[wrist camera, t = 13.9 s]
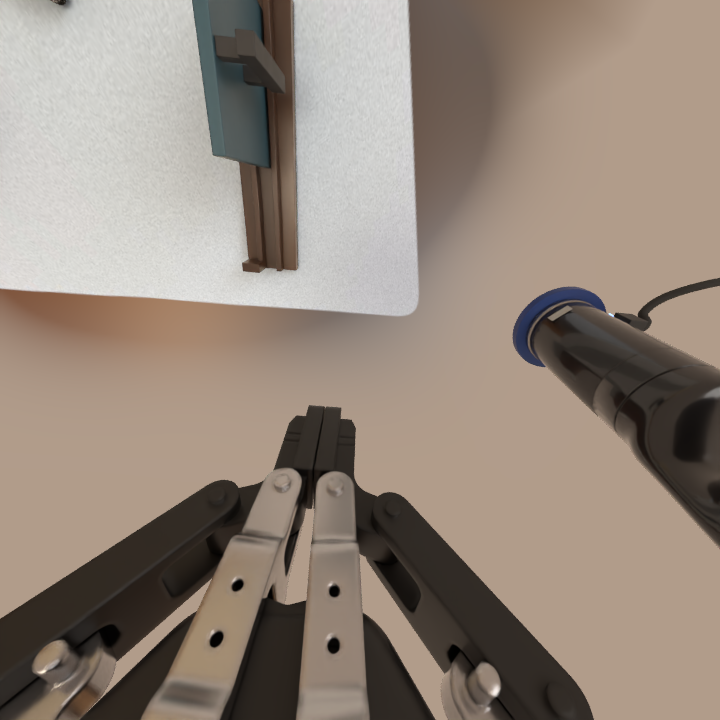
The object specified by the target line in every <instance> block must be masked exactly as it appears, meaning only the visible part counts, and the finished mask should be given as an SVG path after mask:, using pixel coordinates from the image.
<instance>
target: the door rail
mask: <svg viewBox="0 0 720 720" xmlns="http://www.w3.org/2000/svg"><path fill="white" fill-rule="evenodd" d="M257 1H258V3H259V4H260V6H261V8H262V12H263V31H264V46H265V48H266V49H267V51H268V52H269V54H270V55H271V57H272V58H273V60H274V61H275V62H276V64H277V65H278V67H279V68H280V70H281V71H282V73H283V74H284V76H285V94H281V93H272V92H271V91H270V90H269V89H268V88H267V105H268V124H269V142H270V161H271V168H262V167H258V166H254V165H250V164H246V163H242V162H239V165H240V175H241V185H242V195H243V205H244V216H245V226H246V236H247V246H248V256H249V259H248V260H247V261H245V262H243V263H242V265H243V271H246V272H257V273H260V272H261V271H262V270H264V269H265V268H276V269H277V271H282V270H283V269H287V270H297V269H298V241H297V184H296V128H295V71H294V15H293V0H257Z"/></svg>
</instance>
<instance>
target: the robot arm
mask: <svg viewBox="0 0 720 720" xmlns="http://www.w3.org/2000/svg"><path fill="white" fill-rule="evenodd" d="M715 286H720V278H718V279H712V280H707V281H703V282H699V283H695V284H691V285H687V286H684V287H681V288H678V289H675V290H672V291H669V292H667V293H664V294H662V295H660V296H658V297H656V298H655V299H653V300H651V301H650V302H648V303H647V304H646V305H645V306H643V308H642V309H641V310H640V311H639V313H638V317H637V316H635V315H633V314H624V313H615V315H614V316H612V315H611V314H607V313H606V312H604V311H602V310H600V309H598V308H596V307H594V306H593V305H591V304H590V303H588V302H586V301H583V300H580V299H564V300H560V301H557V302H554V303H552V304H550V305H549V306H547V307H545V308H544V309H543V310H541V311H540V312H539V313H538V314H537V315H536V316H535V317H534V318H533V320H532V321H531V323H530V324H529V327H528V329H527V332H526V346H527V348H528V350H529V351H530V353H531V354H532V355H533V356H534V357H536V358H537V359H538V360H540V361H541V362H542V363H543V364H544V365H545V366H546V367H547V368H548V369H549V370H550V371H551V372H552V373H553V374H554V375H555V376H556V377H557V378H558V379H559V380H560V381H561V382H563V383H564V384H565V385H566V386H567V387H568V388H569V389H570V390H571V391H572V392H573V393H574V394H575V395H576V396H577V397H578V398H579V399H580V400H581V401H582V402H584V404H586V406H588V407H589V408H590V409H591V410H592V411H593V412H594V413H595V414H596V415H597V416H598V417H599V418H600V419H601V420H602V421H604V423H606V425H608V426H609V427H610V428H611V429H612V430H613V431H614V432H615V433H616V434H617V435H618V436H619V437H620V438H621V439H622V440H623V441H624V442H625V443H626V444H627V445H628V446H629V447H630V449H631V451H632V453H633V455H634V456H635V458H636V459H637V460H638V461H639V463H641V465H642V466H643V467H644V468H645V469H646V470H647V471H648V472H649V473H650V474H651V475H652V476H653V477H654V478H655V479H656V480H657V481H658V482H659V484H660V485H661V486H662V487H663V488H664V489H665V490H666V491H667V492H668V493H669V494H670V495H671V497H672V498H673V499H674V500H675V501H676V502H677V503H678V504H679V505H680V506H681V507H682V509H683V510H684V511H685V512H686V513H687V514H688V515H689V516H690V517H691V518H692V520H693V521H694V522H695V523H696V524H697V525H698V526H699V527H700V528H701V529H702V531H703V532H704V533H705V534H706V535H707V536H708V537H709V538H710V539H711V540H712V541H713V542H714V543H715V544H716V546H718V548H719V549H720V369H718V368H716V367H714V366H712V365H710V364H708V363H706V362H704V361H702V360H700V359H698V358H696V357H694V356H692V355H689V354H688V353H686V352H684V351H682V350H679V349H677V348H675V347H673V346H671V345H669V344H667V343H665V342H663V341H661V340H659V339H657V338H655V337H653V336H651V335H649V334H647V333H645V332H644V331H645V330H647V329H648V328H649V326H650V325H651V322H652V321H651V319H650V317H649V316H648V313H649V312H650V311H651V310H652V309H653V308H654V307H656V306H658V305H659V304H661V303H663V302H665V301H667V300H669V299H672V298H675V297H677V296H680V295H684V294H687V293H690V292H694V291H698V290H702V289H706V288H710V287H715ZM355 432H356V428H355V426H354V424H353V422H352V420H348V419H341V408H338V407H326V408H325V407H324V406H311V405H309V407H308V410H307V414H306V416H296V417H295V418H294V419H293V420H292V421H291V422H290V423H289V426H288V429H287V431H286V434H285V437H284V441H283V444H282V447H281V450H280V453H279V456H278V459H277V462H276V465H275V468H274V470H273V471H272V472H271V473H270V474H268V475H267V477H266V478H265V480H264V481H262V482H260V483H258V484H255V485H251V486H246V487H242V488H238V486H237V485H236V484H235V483H234V482H232V481H228V480H220V481H215V482H213V483H211V484H209V485H207V486H205V487H204V488H202V489H201V490H199V491H198V492H196V493H195V494H193V495H191V496H190V497H189V498H187V499H185V500H184V501H182V502H181V503H179V504H178V505H176V506H174V507H173V508H171V509H170V510H168V511H167V512H165V513H164V514H162V515H161V516H159V517H157V518H156V519H154V520H153V521H151V522H150V523H148V524H147V525H145V526H143V527H142V528H141V529H139V530H137V531H136V532H134V533H133V534H131V535H130V536H128V537H126V538H125V539H123V540H122V541H121V542H119V543H117V544H116V545H115V546H112V547H111V548H109V549H108V550H107V551H105V552H103V553H102V554H100V555H99V556H97V557H95V558H94V559H92V560H91V561H89V562H88V563H86V564H85V565H83V566H81V567H80V568H78V569H77V570H75V571H74V572H72V573H71V574H69V575H68V576H66V577H64V578H63V579H61V580H60V581H58V582H57V583H55V584H54V585H52V586H51V587H49V588H47V589H46V590H44V591H43V592H41V593H40V594H38V595H37V596H35V597H33V598H32V599H30V600H29V601H27V602H26V603H24V604H23V605H21V606H19V607H18V608H16V609H15V610H14V611H12V612H10V613H9V614H7V615H6V616H4V617H2V618H1V619H0V720H435V718H434V716H433V714H432V713H431V711H430V709H429V708H428V706H427V704H426V702H425V701H424V699H423V697H422V695H421V694H420V692H419V690H418V689H417V687H416V685H415V684H414V682H413V680H412V678H411V676H410V675H409V673H408V671H407V670H406V668H405V666H404V665H403V663H402V661H401V659H400V657H399V656H398V654H397V652H396V651H395V649H394V647H393V646H392V644H391V642H390V640H389V639H388V637H387V635H386V634H385V633H384V632H383V630H382V629H381V628H380V627H379V626H378V625H377V624H376V622H375V621H373V620H372V619H371V618H370V617H369V616H367V615H366V614H364V613H362V594H361V576H360V558H359V554H361V555H363V556H366V559H367V561H368V563H369V564H370V566H371V567H372V569H373V570H374V572H375V573H376V575H377V576H378V578H379V579H380V581H381V582H382V583H383V585H384V586H385V588H386V589H387V590H388V592H389V593H390V595H391V597H392V598H393V599H394V601H395V602H396V604H397V605H398V607H399V608H400V610H401V611H402V613H403V614H404V615H405V617H406V618H407V620H408V621H409V623H410V624H411V626H412V627H413V629H414V630H415V631H416V633H417V634H418V636H419V637H420V639H421V640H422V641H423V643H424V644H425V646H426V647H427V649H428V650H429V651H430V653H431V655H432V656H433V658H434V659H435V661H436V662H437V663H438V665H439V666H440V668H441V669H442V671H443V672H444V677H443V679H442V685H441V698H442V704H443V708H444V711H445V713H446V716H447V718H448V720H594V719H593V715H592V712H591V709H590V706H589V704H588V702H587V700H586V698H585V696H584V694H583V692H582V691H581V689H580V688H579V686H578V685H577V684H576V682H575V681H574V680H573V679H572V677H571V676H570V675H569V674H568V673H567V672H566V671H565V670H564V669H563V668H562V667H561V666H560V664H559V663H558V662H557V661H556V660H555V659H554V658H553V657H552V656H551V655H550V654H549V653H548V651H547V650H546V649H545V648H544V647H543V646H542V645H541V644H540V643H539V642H538V641H537V640H536V639H535V637H534V636H533V635H532V634H531V633H530V632H529V631H528V630H527V629H526V628H525V627H524V626H523V625H522V624H521V622H520V621H519V620H518V619H517V618H516V617H515V616H514V615H513V614H512V613H511V612H510V611H509V610H508V608H507V607H506V606H505V605H504V604H503V603H502V602H501V601H500V600H499V599H498V598H497V597H496V596H495V594H493V592H492V591H491V590H490V589H489V588H488V587H487V586H486V585H485V584H484V583H483V582H482V581H481V579H480V578H479V577H478V576H477V575H476V574H475V573H474V572H473V571H472V570H471V569H470V568H469V567H468V566H467V564H466V563H465V562H464V561H463V560H462V559H461V558H460V557H459V556H458V555H457V554H456V553H455V552H454V550H453V549H452V548H451V547H450V546H449V545H448V544H447V543H446V542H445V541H444V540H443V539H442V538H441V537H440V535H438V533H437V532H436V531H435V530H434V529H433V528H432V527H431V526H430V525H429V524H428V523H427V521H426V520H425V519H424V518H423V517H422V516H421V515H420V514H419V513H418V512H417V511H416V510H415V508H414V507H413V506H412V505H411V504H410V503H409V502H408V501H407V500H406V499H405V498H404V497H402V496H401V495H399V494H396V493H392V492H387V493H383V494H381V495H379V496H378V497H377V496H375V495H372V494H370V493H367V492H365V491H364V490H362V489H361V488H360V487H359V486H358V485H357V483H356V481H355V479H354V457H355ZM313 499H314V509H315V510H314V524H313V535H312V542H311V551H310V564H309V575H308V576H309V577H308V588H307V600H306V601H302V602H299V603H295V604H290V605H285V599H286V593H287V585H288V580H289V576H290V572H291V569H292V565H293V561H294V557H295V553H296V550H297V546H298V542H299V538H300V534H301V531H302V524H303V521H304V516H305V511H306V508H308V509H312V505H313ZM211 578H212V580H211V582H210V585H209V587H208V589H207V591H206V593H205V595H204V597H203V600H202V602H201V604H200V606H199V608H198V610H197V611H196V612H195V613H193V614H191V615H190V616H188V617H187V618H186V619H185V620H183V621H182V622H181V623H180V624H179V625H177V626H176V627H175V628H174V629H173V630H172V631H171V632H170V633H169V634H168V635H167V636H166V637H165V638H164V639H163V640H162V641H160V642H159V644H157V645H156V646H155V647H154V648H153V649H152V650H151V651H150V652H149V653H148V654H147V655H146V656H145V657H144V658H143V659H142V660H141V661H140V662H139V663H138V664H137V665H136V666H135V667H134V668H132V669H131V671H129V672H128V673H127V674H126V675H125V676H124V677H123V678H122V679H121V680H120V681H119V682H118V683H117V684H116V685H115V686H114V687H113V688H112V689H111V690H110V691H109V692H108V693H106V695H104V696H103V697H102V698H101V696H102V695H103V693H104V692H105V690H106V688H107V687H108V685H109V683H110V681H111V679H112V677H113V674H114V671H115V666H116V662H117V661H118V660H119V659H120V658H122V656H124V655H125V654H126V653H127V652H128V651H130V650H131V649H132V648H133V647H134V646H135V645H136V644H137V643H139V642H140V641H141V640H142V639H143V638H144V637H145V636H146V635H148V634H149V633H150V632H151V631H152V630H153V629H155V627H157V626H158V625H159V624H160V623H161V622H163V620H165V619H166V618H167V617H168V616H169V615H170V614H172V613H173V612H174V611H175V610H176V609H177V608H178V607H180V606H181V605H182V604H183V603H184V602H185V601H186V600H188V599H189V598H190V597H191V596H192V595H193V594H194V593H195V592H197V591H198V590H199V589H200V588H201V587H202V586H203V585H205V584H206V583H207V582H208V581H209V580H210V579H211ZM100 698H101V699H100ZM99 699H100V700H99ZM98 700H99V701H98ZM97 701H98V702H97ZM96 702H97V703H96ZM95 703H96V704H95ZM94 704H95V705H94ZM93 705H94V706H93ZM92 706H93V707H92ZM91 707H92V708H91ZM90 708H91V709H90ZM89 709H90V710H89ZM88 710H89V711H88ZM87 711H88V712H87Z"/></svg>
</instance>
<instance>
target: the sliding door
mask: <svg viewBox="0 0 720 720" xmlns="http://www.w3.org/2000/svg"><path fill="white" fill-rule="evenodd" d="M192 3H193V11H194V18H195V26H196V33H197V41H198V48H199V55H200V63H201V70H202V78H203V85H204V93H205V100H206V108H207V115H208V123H209V130H210V137H211V145H212V152H213V155H214V156H218V157H222V158H226V159H230V160H234V161H238V162H242V163H246V164H250V165H254V166H258V167H262V168H271V161H270V142H269V124H268V105H267V88H268V89H269V90H270V91H271V92H272V93H281V94H285V76H284V74H283V73H282V71H281V70H280V68H279V67H278V65H277V64H276V62H275V61H274V60H273V58H272V57H271V55H270V54H269V52H268V51H267V49H266V48H265V46H264V31H263V12H262V8H261V6H260V4H259V3H258V1H257V0H192Z"/></svg>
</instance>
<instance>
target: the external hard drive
mask: <svg viewBox="0 0 720 720" xmlns="http://www.w3.org/2000/svg"><path fill="white" fill-rule="evenodd" d="M51 1H53V2H55V3H57V4H59V5H64V4H65V3H66V0H51Z"/></svg>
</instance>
